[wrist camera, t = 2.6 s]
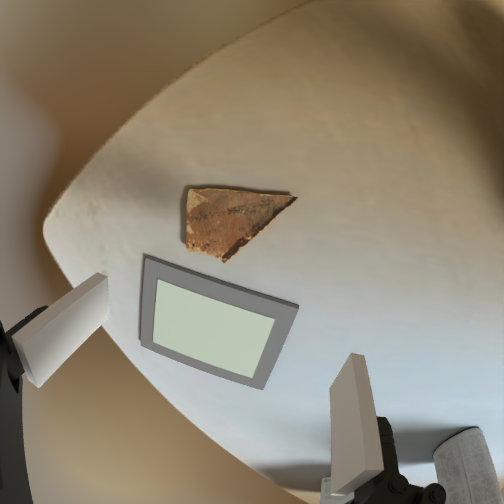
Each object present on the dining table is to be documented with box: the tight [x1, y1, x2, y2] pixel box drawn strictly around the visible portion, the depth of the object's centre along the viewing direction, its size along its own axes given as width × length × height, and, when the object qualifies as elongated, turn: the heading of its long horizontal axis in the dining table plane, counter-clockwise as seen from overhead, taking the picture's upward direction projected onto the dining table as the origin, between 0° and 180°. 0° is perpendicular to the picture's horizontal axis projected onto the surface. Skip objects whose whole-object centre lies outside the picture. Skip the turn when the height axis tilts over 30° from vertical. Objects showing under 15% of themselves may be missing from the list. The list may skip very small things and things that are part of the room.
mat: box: [141, 256, 299, 390], centre depth 33 cm, size 14×18×1 cm
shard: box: [186, 188, 298, 263], centre depth 28 cm, size 11×8×2 cm
